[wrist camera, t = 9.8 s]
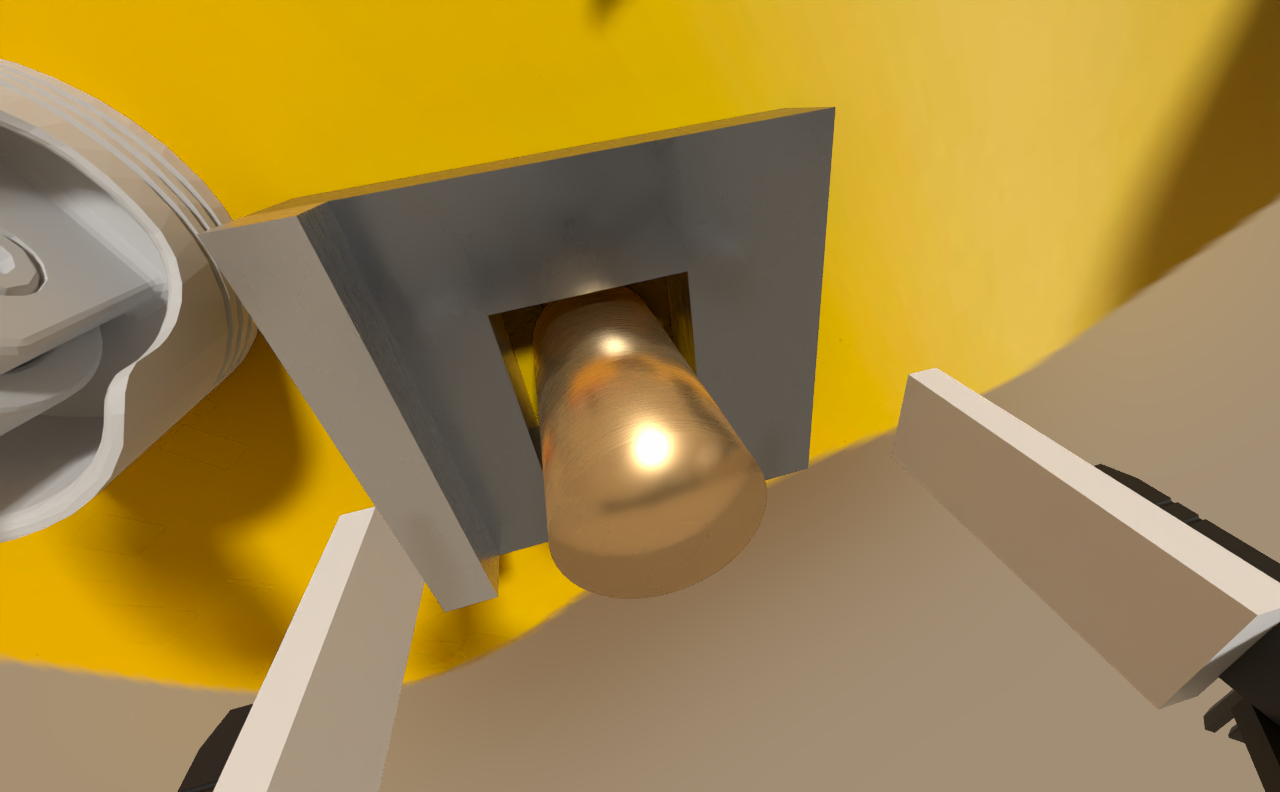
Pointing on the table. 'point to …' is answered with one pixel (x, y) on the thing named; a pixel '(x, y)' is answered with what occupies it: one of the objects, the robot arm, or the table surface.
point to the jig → (529, 275)
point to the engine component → (98, 297)
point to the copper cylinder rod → (635, 453)
